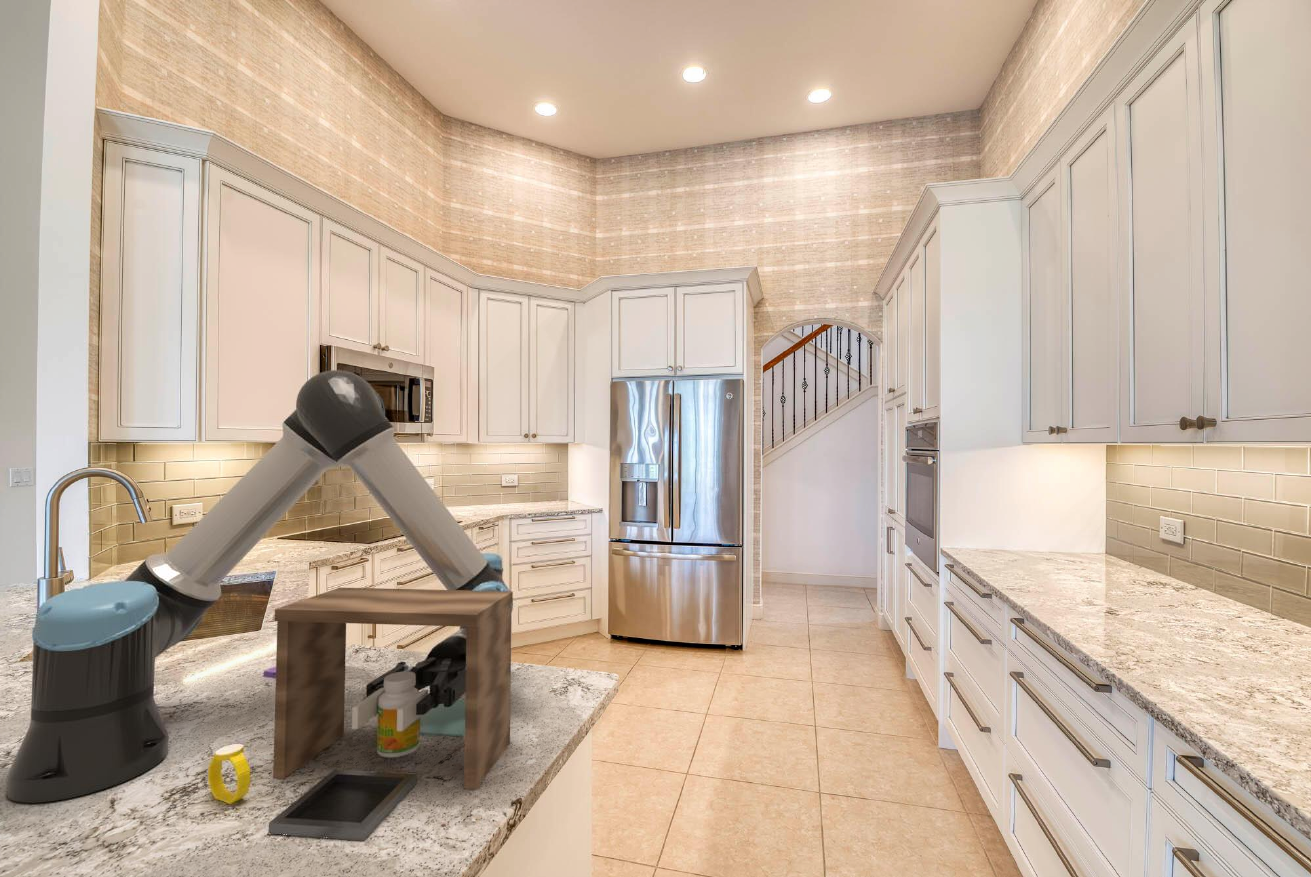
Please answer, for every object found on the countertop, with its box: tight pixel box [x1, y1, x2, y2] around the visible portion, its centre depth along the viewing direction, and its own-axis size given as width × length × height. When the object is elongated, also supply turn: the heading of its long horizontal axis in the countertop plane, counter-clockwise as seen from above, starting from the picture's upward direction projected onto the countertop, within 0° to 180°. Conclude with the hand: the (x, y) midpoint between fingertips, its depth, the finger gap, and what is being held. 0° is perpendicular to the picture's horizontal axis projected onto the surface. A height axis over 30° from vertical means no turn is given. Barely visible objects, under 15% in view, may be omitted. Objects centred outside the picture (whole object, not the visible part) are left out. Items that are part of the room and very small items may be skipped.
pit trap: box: [267, 769, 418, 842], centre depth 67 cm, size 11×11×1 cm
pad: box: [420, 699, 466, 738], centre depth 91 cm, size 12×12×1 cm
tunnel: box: [272, 587, 514, 791], centre depth 79 cm, size 13×27×22 cm, turn 84°
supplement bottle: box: [376, 671, 421, 759], centre depth 79 cm, size 5×5×10 cm
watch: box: [207, 743, 251, 805], centre depth 69 cm, size 6×3×6 cm, turn 67°
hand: (377, 719), depth 74 cm, fingers closed on supplement bottle, 5 cm apart
